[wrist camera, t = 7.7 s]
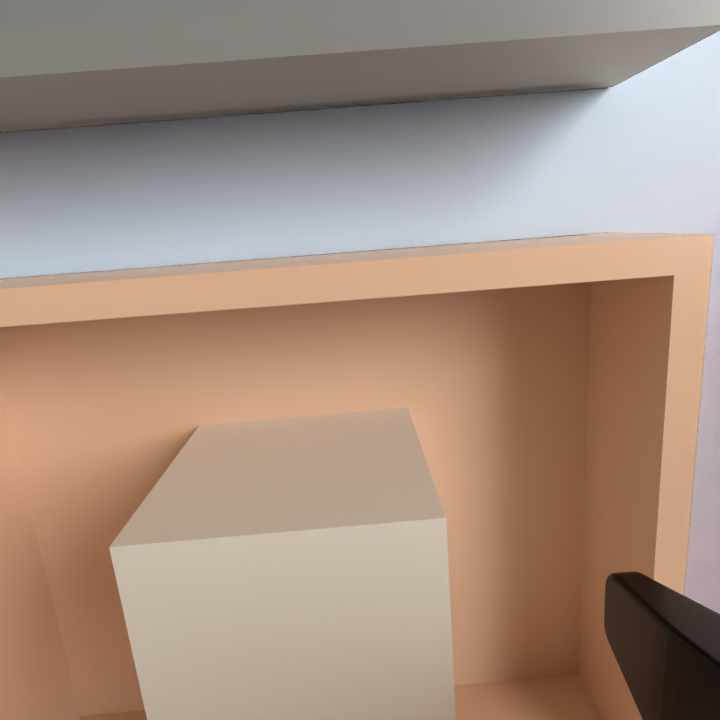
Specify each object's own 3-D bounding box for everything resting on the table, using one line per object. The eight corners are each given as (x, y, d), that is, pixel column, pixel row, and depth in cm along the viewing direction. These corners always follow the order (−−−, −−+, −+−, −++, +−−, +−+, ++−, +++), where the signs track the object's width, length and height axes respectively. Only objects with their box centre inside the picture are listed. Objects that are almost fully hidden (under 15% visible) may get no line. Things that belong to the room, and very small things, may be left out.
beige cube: (407, 407, 10) (446, 518, 6) (419, 588, 11) (458, 780, 7) (198, 425, 10) (109, 547, 6) (228, 605, 11) (165, 806, 7)
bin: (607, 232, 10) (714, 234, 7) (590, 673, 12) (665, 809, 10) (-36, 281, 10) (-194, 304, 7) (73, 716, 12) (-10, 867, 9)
